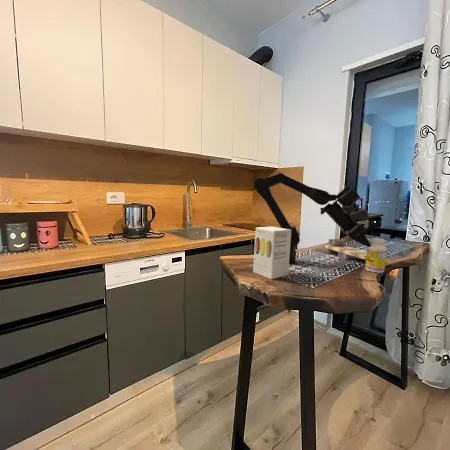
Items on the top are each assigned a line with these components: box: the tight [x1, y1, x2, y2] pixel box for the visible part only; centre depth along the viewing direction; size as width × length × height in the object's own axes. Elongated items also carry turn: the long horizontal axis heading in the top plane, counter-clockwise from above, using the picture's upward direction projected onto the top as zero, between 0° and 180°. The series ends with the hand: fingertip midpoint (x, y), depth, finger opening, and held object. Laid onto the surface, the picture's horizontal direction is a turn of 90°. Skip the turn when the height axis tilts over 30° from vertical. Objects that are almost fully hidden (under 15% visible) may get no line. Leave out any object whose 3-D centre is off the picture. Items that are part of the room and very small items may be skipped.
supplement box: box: [252, 226, 291, 280], centre depth 92 cm, size 10×9×17 cm
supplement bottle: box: [364, 237, 388, 274], centre depth 100 cm, size 7×7×13 cm
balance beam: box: [324, 238, 367, 261], centre depth 121 cm, size 24×10×7 cm, turn 19°
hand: (366, 244), depth 101 cm, fingers open, 9 cm apart
